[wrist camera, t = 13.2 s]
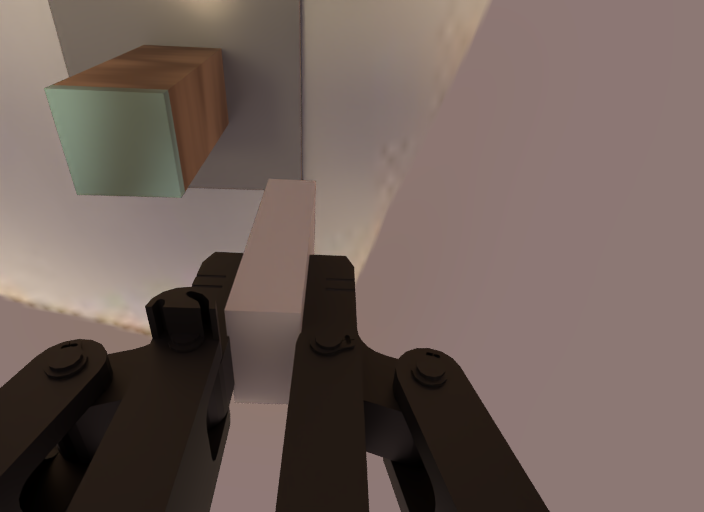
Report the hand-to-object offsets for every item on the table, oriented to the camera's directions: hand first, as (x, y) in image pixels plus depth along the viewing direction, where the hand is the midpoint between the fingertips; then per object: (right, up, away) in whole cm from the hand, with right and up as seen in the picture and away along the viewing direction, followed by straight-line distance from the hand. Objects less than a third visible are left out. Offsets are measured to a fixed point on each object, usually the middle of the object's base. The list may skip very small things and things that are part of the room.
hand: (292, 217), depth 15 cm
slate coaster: (-8, +10, +14) cm, 19 cm away
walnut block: (-8, +9, +13) cm, 18 cm away
